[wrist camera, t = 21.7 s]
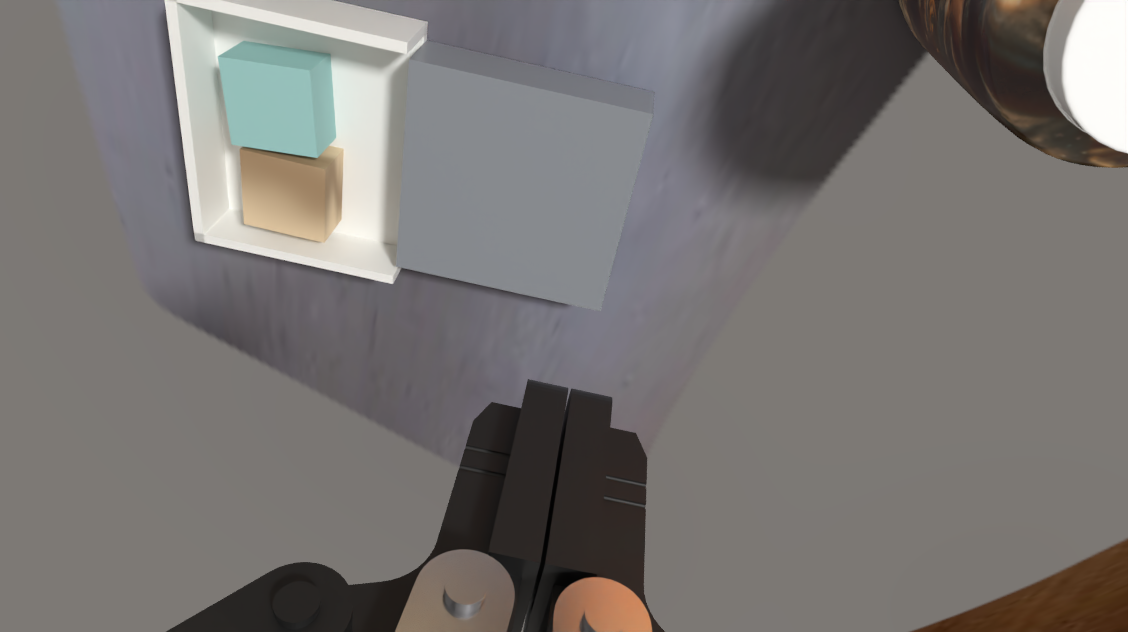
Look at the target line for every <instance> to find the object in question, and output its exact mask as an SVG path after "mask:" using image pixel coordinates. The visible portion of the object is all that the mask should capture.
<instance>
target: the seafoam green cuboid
mask: <svg viewBox="0 0 1128 632" xmlns="http://www.w3.org/2000/svg"><path fill="white" fill-rule="evenodd" d="M218 62H219V68H220V75H221V81H222V87H223V94H224V100H225V106H226V112H227V119H228V125H229V131H230V138H231V144H232V145H237V146H244V147H250V148H256V149H263V150H269V151H276V152H282V153H289V154H295V155H301V156H308V157H314V158H318V157H319V156H320V155H321V154H322V153H323V152H324V150H325V149H326V148H327V147H328V146H329V145H330V144H331V143H332V142H333V141H334V140H335V139H336V126H335V111H334V97H333V82H332V68H331V54H327V53H321V52H314V51H308V50H301V49H295V48H288V47H282V46H275V45H268V44H262V43H255V42H249V41H242V42H241V43H239V44H237V45H236V46H234V47H232V48H231V49H229V50H227V51H226V52H224V53H223V54H221V55H219V56H218Z"/></svg>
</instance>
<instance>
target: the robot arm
mask: <svg viewBox="0 0 1128 632" xmlns="http://www.w3.org/2000/svg"><path fill="white" fill-rule="evenodd" d="M567 394H568V388H566V387H561V386H557V385H552V384H548V383H543V382H538V381H534V380H529V379H528V382H527V386H526V390H525V395H524V399H523V403H522V407H521V408H516V407H512V406H507V405H503V404H498V403H493V402H491V403H490V404H489V405H488V406H487V407H486V408H485V409H484V410H483V412H482V413H481V414H480V415H479V416H478V417H477V418H476V419H475V420H474V421H473V424H472V427H471V430H470V434H469V437H468V440H467V444H466V448H465V450H464V454H463V457H462V460H461V463H460V468H459V470H458V473H457V477H456V480H455V483H454V487H453V490H452V493H451V497H450V500H449V503H448V507H447V510H446V513H445V517H444V520H443V523H442V526H441V530H440V533H439V536H438V540H437V543H436V545H435V548H434V550H433V551H432V553H431V554H430V556H429V557H428V558H427V560H426V561H425V562H424V563H423V564H421V565H420V566H419V567H418V568H417V569H415V570H414V571H412V572H410V573H409V574H407V575H404V576H402V577H400V578H397V579H393V580H389V581H383V582H376V583H365V584H355V585H348V584H347V582H346V581H345V579H344V578H343V577H342V576H341V575H340V574H339V573H337V572H336V571H335V570H333V569H331V568H329V567H327V566H325V565H321V564H317V563H310V562H300V563H293V564H288V565H285V566H282V567H279V568H277V569H274V570H272V571H270V572H269V573H267V574H265V575H263V576H262V577H260V578H258V579H256V580H255V581H253V582H251V583H250V584H248V585H246V586H244V587H243V588H241V589H239V590H237V591H236V592H234V593H232V594H230V595H229V596H227V597H225V598H224V599H222V600H220V601H218V602H217V603H215V604H213V605H212V606H210V607H208V608H206V609H205V610H203V611H201V612H199V613H198V614H196V615H194V616H192V617H191V618H189V619H187V620H186V621H184V622H182V623H180V624H179V625H177V626H175V627H173V628H172V629H170V630H168V631H167V632H521V630H522V627H523V623H524V619H525V624H524V630H523V632H664V630H663V629H662V628H661V627H660V626H659V625H658V623H657V622H656V621H655V619H654V618H653V616H652V614H651V613H650V610H649V608H648V606H647V603H646V600H645V595H644V552H645V516H646V514H645V512H646V510H645V505H646V480H647V457H646V454H645V452H644V450H643V448H642V446H641V443H640V441H639V439H638V437H637V435H636V433H633V432H628V431H624V430H619V429H614V428H610V423H611V411H612V397H608V396H604V395H599V394H594V393H590V392H585V391H581V390H576V389H571V391H570V395H569V398H568V402H567V406H566V401H567ZM565 407H566V410H565ZM564 413H565V414H564ZM525 616H526V618H525Z"/></svg>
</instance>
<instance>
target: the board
mask: <svg viewBox="0 0 1128 632" xmlns="http://www.w3.org/2000/svg"><path fill="white" fill-rule="evenodd" d="M653 114H654V92H653V91H649V90H644V89H640V88H635V87H631V86H627V85H622V84H618V83H613V82H609V81H604V80H600V79H596V78H591V77H587V76H582V75H578V74H574V73H569V72H565V71H560V70H556V69H551V68H547V67H543V66H538V65H534V64H529V63H525V62H520V61H516V60H512V59H507V58H503V57H498V56H494V55H490V54H485V53H481V52H476V51H472V50H467V49H463V48H459V47H454V46H450V45H445V44H441V43H436V42H432V41H428V40H426V41H425V42H424V44H423V45H422V46H421V47H420V48H419V49H418V50H417V51H416V52H415V53H414V54H413V55H412V56H411V58H410V59H409V67H408V83H407V99H406V115H405V131H404V147H403V163H402V179H401V195H400V210H399V226H398V242H397V258H396V267H401V268H405V269H410V270H414V271H419V272H423V273H428V274H433V275H437V276H442V277H446V278H451V279H455V280H460V281H464V282H469V283H473V284H478V285H483V286H487V287H492V288H496V289H501V290H505V291H510V292H514V293H519V294H524V295H528V296H533V297H537V298H542V299H546V300H551V301H555V302H560V303H564V304H569V305H574V306H578V307H583V308H587V309H592V310H596V311H601V307H602V303H603V299H604V296H605V292H606V288H607V285H608V281H609V277H610V273H611V270H612V266H613V262H614V259H615V255H616V251H617V248H618V244H619V240H620V236H621V233H622V229H623V225H624V222H625V218H626V214H627V210H628V207H629V203H630V199H631V196H632V192H633V188H634V185H635V181H636V177H637V173H638V170H639V166H640V162H641V159H642V155H643V151H644V148H645V144H646V140H647V136H648V133H649V129H650V125H651V122H652V118H653Z"/></svg>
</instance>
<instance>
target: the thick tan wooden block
mask: <svg viewBox="0 0 1128 632" xmlns="http://www.w3.org/2000/svg"><path fill="white" fill-rule="evenodd" d="M343 156H344V149H342V148H338V147H334V146H330V145H329V146H328V147H327V148H326V149H325V150H324V152H323V153H322V154H321V155H320V156H319V157H318V158H314V157H308V156H301V155H295V154H289V153H282V152H276V151H269V150H263V149H256V148H250V147H244V146H243V147H241V148H240V166H241V183H242V200H243V217H244V224H246V225H250V226H255V227H259V228H263V229H267V230H272V231H276V232H280V233H284V234H289V235H293V236H297V237H301V238H306V239H310V240H314V241H318V242H323V243H325V241H326V240H327V239H328V237H329V236H330V235H331V233H332V232H333V231H334V229H335V228H336V226H337V225H338V224H339V222H340V221H341V220H342V188H343Z"/></svg>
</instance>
